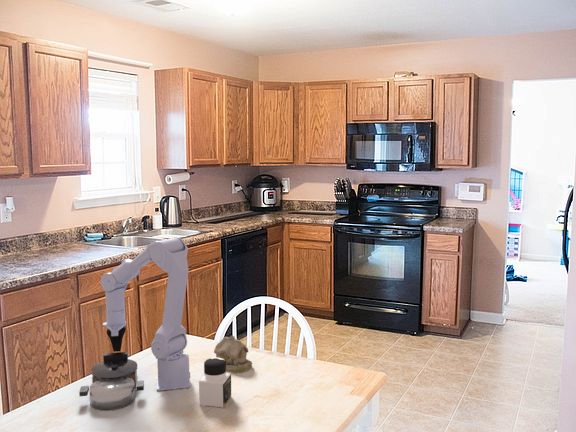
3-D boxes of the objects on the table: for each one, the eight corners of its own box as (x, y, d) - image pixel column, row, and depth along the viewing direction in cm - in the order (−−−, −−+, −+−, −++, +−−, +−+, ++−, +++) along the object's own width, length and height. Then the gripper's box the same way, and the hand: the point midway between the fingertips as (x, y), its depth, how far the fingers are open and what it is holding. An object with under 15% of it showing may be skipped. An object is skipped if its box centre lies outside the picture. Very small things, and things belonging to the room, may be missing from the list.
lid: (138, 360, 172) (137, 350, 172) (136, 376, 159) (136, 366, 159) (94, 363, 169) (93, 354, 169) (89, 381, 156) (88, 371, 156)
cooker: (145, 374, 173) (144, 360, 172) (143, 406, 151) (143, 391, 151) (87, 379, 169) (87, 365, 168) (78, 413, 147) (77, 397, 147)
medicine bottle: (223, 408, 151) (223, 365, 149) (199, 405, 152) (198, 363, 151) (231, 396, 158) (231, 356, 156) (207, 394, 159) (207, 354, 158)
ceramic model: (205, 365, 180) (204, 336, 179) (229, 355, 189) (229, 327, 188) (236, 376, 172) (236, 345, 170) (260, 365, 180) (260, 336, 179)
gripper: (104, 303, 180) (105, 343, 182) (100, 316, 166) (101, 360, 168) (126, 302, 181) (128, 342, 183) (124, 315, 167) (126, 358, 169)
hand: (117, 350), depth 175 cm, fingers closed
